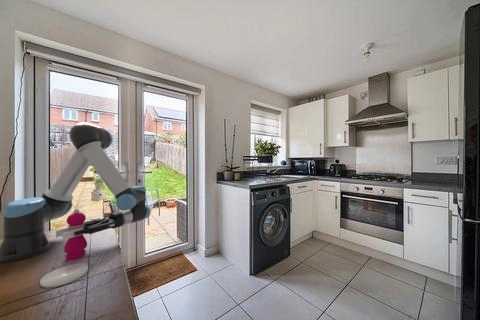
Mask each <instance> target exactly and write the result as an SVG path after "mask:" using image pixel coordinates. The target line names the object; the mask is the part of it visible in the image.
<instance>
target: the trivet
mask: <svg viewBox="0 0 480 320" xmlns="http://www.w3.org/2000/svg"><path fill="white" fill-rule="evenodd" d="M88 272H89V265H88V264H87V263H74V264H69V265H66V266H62V267H59V268H56V269H54V270H52V271H50V272H48V273H46V274H45V275H43V277H42V278H40V280H39V281H40V282H39V284H40V287H42V288H46V289H47V288H56V287H60V286H64V285H66V284H69V283H72V282H75V281H76V280H79V279H81V278H82V277H83V276H85V275H86V274H87V273H88Z"/></svg>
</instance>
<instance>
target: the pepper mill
mask: <svg viewBox="0 0 480 320" xmlns="http://www.w3.org/2000/svg"><path fill="white" fill-rule="evenodd" d="M86 218H87V217H86V215H85V214H84V213H83V212H80V209H79V208H78V209H77V208H76V209H74V211H73V213H71V214H70V215H68V216H67V218H66V223H67V225H68V227H69V228H68V227H67V228H68V230H70V231H71V230H75V229H79V228H83V227H84V223H83V222H86ZM66 240H67V241H66V242H65V244H64V248H63V252H64V253H65V261H66V262H71V261H72V262H73V261H76V260H80V259H82V258H84V257H85V256H86V253H87V252H86V248H87V247H88V241H87V239H86V238H85V235H84V234H83V235H79V236H76V237H72V238H69V239H66Z"/></svg>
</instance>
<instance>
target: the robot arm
mask: <svg viewBox="0 0 480 320" xmlns="http://www.w3.org/2000/svg"><path fill="white" fill-rule="evenodd" d="M69 138H70V142H71V143H72V145H73V146H74V148H75V149H76V150H75V151H74V153H73V154H72V156H71V158H70V159H69V160H68V162H67V163H66V165H65V167H64V168H63V169H62V170H61V171H62V172H61V173H60V174H59V176H58V178H57V179H56V181H55V182H54V183H53V185H52V187H51V188H50V189H48V190H44V192H43V193H42V195H41V196H40V197H35V196H34V197H27V198H23V199H22V198H21V199H16V200H14V201H10V202H7V203H6V204H5V206H4V210H3V212H2V213H3V214H2V216H3V227H2V228H3V234H2V235H3V236H2V237H3V239H2V242H1V244H0V263H9V262H14V261H19V260H24V259H27V258H31V257H35V256H37V255H39V254H42V253H43V252H46V251H48V250H49V248H50V241H49V238H48V237H47V235H46V233H45V224H46V223H47V222H51V221H53V220H57V219H59V218H61V217H64V216H65V215H67V214H68V213H69V212H70V211H71V210H72V208H73V200H74V197H73V193H74V192H75V190H76V188H77V187H78V185H79V184H80V182H81V180H82V179H83V177H84V176H85V174H86V173H87V171H88V169H89V167H90V165H91V166H92V167H93V169H94V171H95V172H96V173H97V175H98V176H99V178H101V180H102V181H103V182H104V184H105V185H106V187H107V188H108V190H109V191H110V192H111V194H112V195H113V196H114V197H115V199H116V200H115V205H116V207H117V209H118V210H121V211H116V212H112V213H110V214H109V215H108V217H104V218H96V219H92V220H89V221H88V220H87V221H84V222H83V223H84V227H83V228H79V229H75V230H71V231H70V230H68V228H69V227H65V228H62V229H61V228H60V229H58V230H55V238H60V237H62V239H61V240H63V241H65V240H68V239H69V238H72V237H76V236H79V235H83V236H84V235H92V234H96V233H99V232H103V231H105V230H108V229H113V230H114V229H117V228H121V227H123V226H125V227H127V226H128V225H130V224H133V223H137V222H140V221H144V220H146V219H149V217H151V216H150V215H151V210H150V207H149V205H146V200H147V198H146V196H147V194H146V193H147V191H146V186H144V185H133V186H131V187H130V185H129V184H128V183H127V181H126V180H125V178H124V177H123V175H122V174H121V172H120V170H119V169H117V167H116V165H115V164H114V162H113V161H112V160H111V158H110V157H109V156H108V154H107V153H106V152H105V149H108V148H110V146H111V145H112V143H113V136H112V134H111V132H110V131H108V130H107V129H105V128H103V127H101V126H98V125H94V124H92V123H89V122H79V123H76V124H74V125H73V126H72V127H71V129H70V130H69Z"/></svg>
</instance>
